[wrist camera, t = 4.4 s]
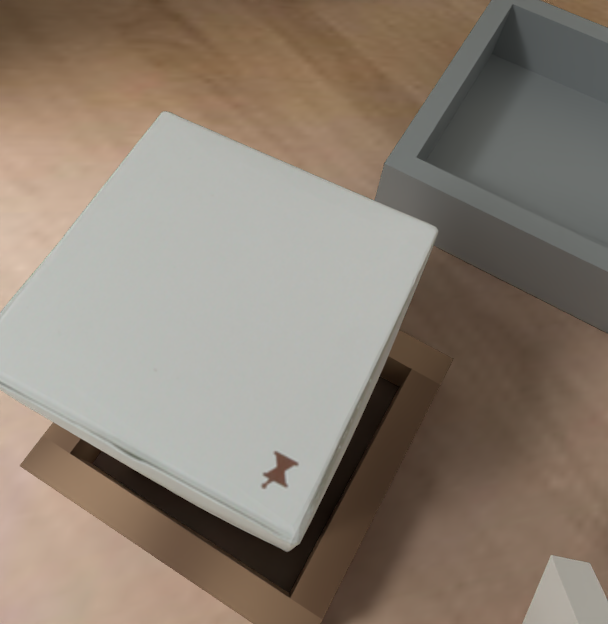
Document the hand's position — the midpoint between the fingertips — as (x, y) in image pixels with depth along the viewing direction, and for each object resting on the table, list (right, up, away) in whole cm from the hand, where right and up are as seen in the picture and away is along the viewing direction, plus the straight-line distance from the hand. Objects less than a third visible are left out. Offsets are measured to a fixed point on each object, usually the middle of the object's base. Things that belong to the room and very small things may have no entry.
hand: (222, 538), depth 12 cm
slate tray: (+14, +11, +16) cm, 24 cm away
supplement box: (0, 0, +11) cm, 11 cm away
